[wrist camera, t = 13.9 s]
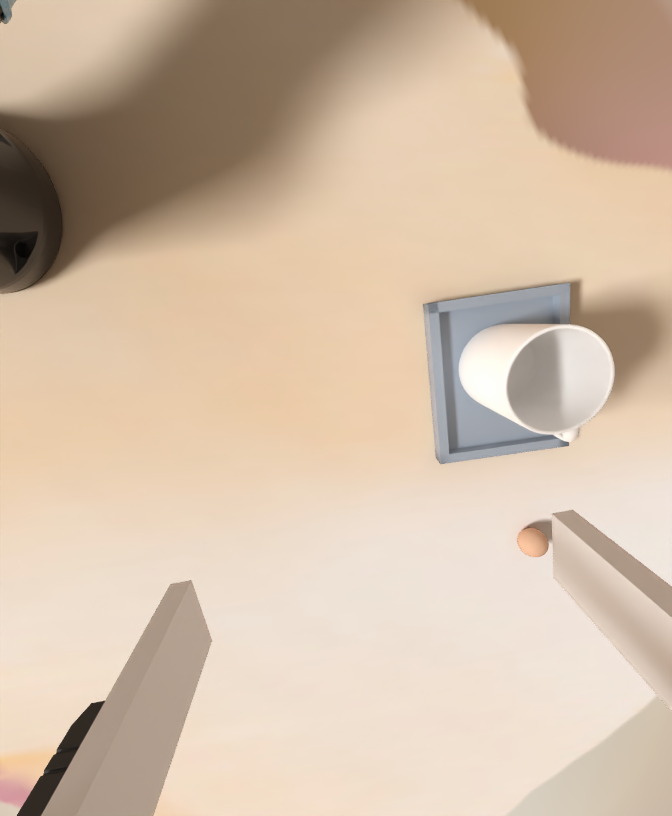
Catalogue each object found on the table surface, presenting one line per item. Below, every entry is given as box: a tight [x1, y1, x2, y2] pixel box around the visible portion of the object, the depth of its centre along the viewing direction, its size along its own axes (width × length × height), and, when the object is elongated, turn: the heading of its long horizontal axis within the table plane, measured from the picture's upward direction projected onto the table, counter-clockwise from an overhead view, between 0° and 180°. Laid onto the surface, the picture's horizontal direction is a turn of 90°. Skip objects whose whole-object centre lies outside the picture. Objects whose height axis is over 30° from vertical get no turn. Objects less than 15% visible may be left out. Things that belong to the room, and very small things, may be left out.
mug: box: [459, 324, 615, 442], centre depth 33 cm, size 9×12×11 cm
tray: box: [423, 283, 570, 464], centre depth 38 cm, size 17×14×2 cm
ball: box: [517, 528, 549, 557], centre depth 42 cm, size 3×3×3 cm
